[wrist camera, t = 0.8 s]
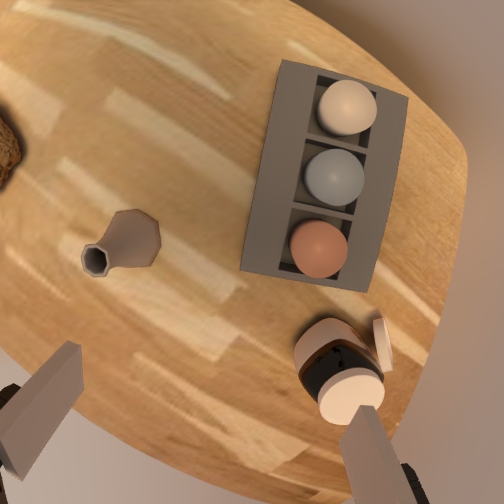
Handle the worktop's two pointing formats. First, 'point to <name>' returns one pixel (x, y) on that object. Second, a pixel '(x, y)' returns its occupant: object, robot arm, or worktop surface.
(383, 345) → the spread jar
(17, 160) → the sponge
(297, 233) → the button terracotta
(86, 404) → the worktop surface
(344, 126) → the button ivory
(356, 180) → the button slate
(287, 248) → the panel
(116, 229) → the flask
